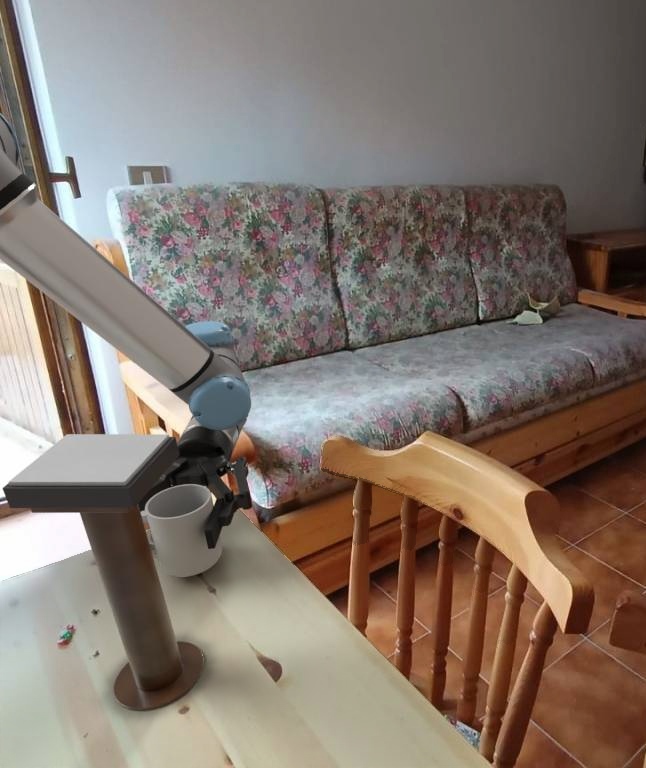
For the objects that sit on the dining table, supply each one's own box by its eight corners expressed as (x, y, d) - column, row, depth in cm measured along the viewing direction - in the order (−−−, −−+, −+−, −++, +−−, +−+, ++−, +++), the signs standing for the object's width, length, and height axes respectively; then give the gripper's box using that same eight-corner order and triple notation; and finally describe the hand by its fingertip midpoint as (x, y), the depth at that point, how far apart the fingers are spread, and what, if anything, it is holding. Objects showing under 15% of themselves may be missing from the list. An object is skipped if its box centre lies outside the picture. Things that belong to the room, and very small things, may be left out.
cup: (218, 573, 78) (205, 514, 74) (128, 586, 75) (110, 526, 71) (226, 537, 84) (215, 481, 80) (144, 547, 82) (128, 490, 78)
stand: (98, 716, 62) (19, 508, 51) (141, 648, 70) (80, 454, 59) (184, 715, 62) (124, 508, 52) (218, 647, 70) (171, 454, 59)
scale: (6, 508, 51) (-4, 483, 50) (68, 454, 59) (61, 432, 58) (134, 508, 52) (127, 483, 51) (179, 454, 59) (174, 432, 58)
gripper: (288, 463, 97) (266, 559, 77) (128, 475, 92) (61, 580, 73) (282, 420, 94) (258, 508, 74) (116, 431, 89) (42, 527, 70)
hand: (160, 544), depth 73 cm, fingers closed on cup, 10 cm apart
